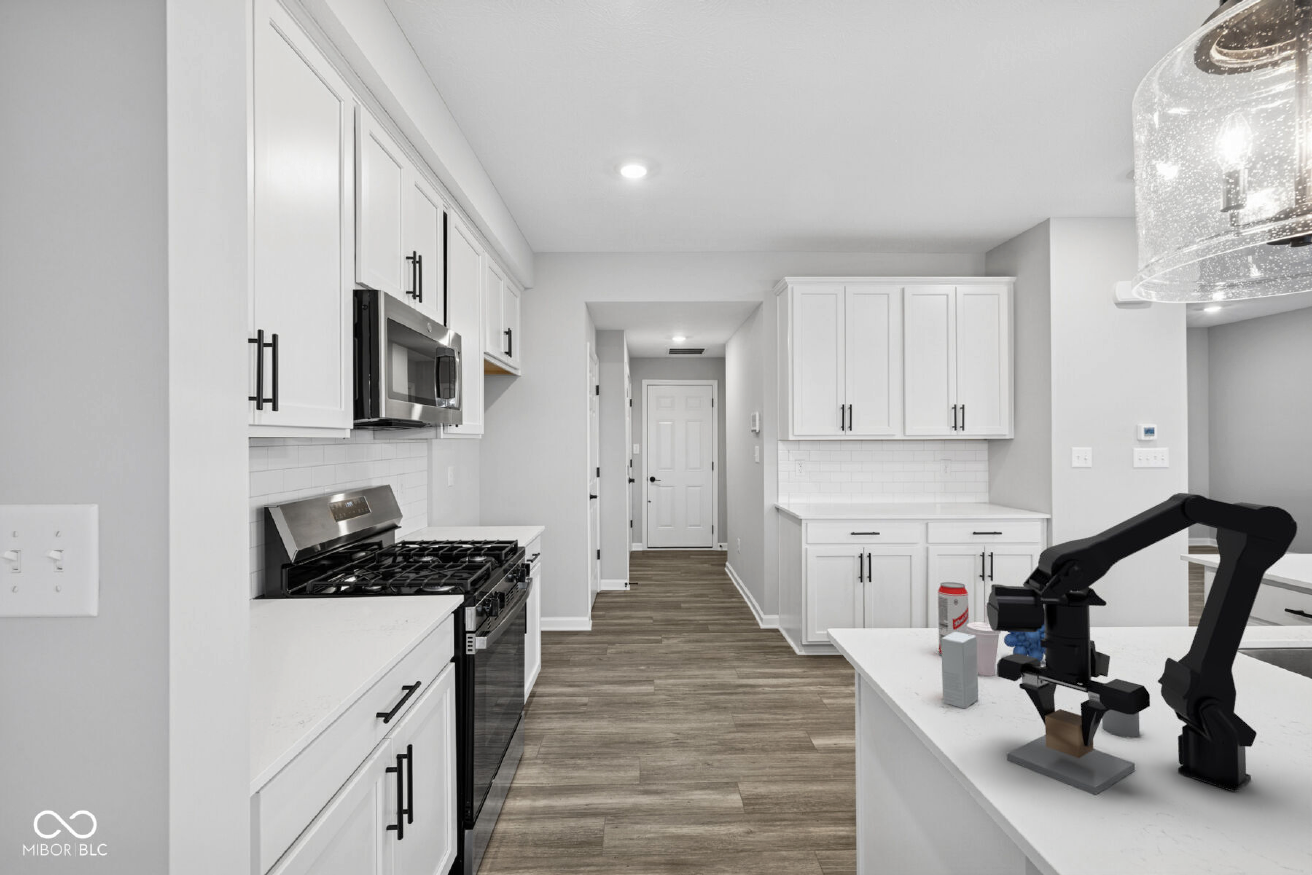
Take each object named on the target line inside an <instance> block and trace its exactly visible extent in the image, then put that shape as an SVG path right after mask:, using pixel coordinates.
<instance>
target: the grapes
mask: <svg viewBox="0 0 1312 875" xmlns="http://www.w3.org/2000/svg"><path fill="white" fill-rule="evenodd" d="M1006 632H1007V634H1006V635H1005V636H1004V637H1003V643H1004V644H1005V645H1006V646H1007V647H1009V648H1012V649H1013V650H1012V654H1015V653H1018V654H1022V655H1026V656H1030V657H1033V658H1037V659H1038V660H1039V661H1040V662H1042V661H1043V659H1044V658H1045V647H1041V646H1040V640H1041V639H1044V638H1045V623H1044V624H1043V626H1042V629H1037V631H1036V632H1011V631H1006Z"/></svg>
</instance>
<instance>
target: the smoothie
mask: <svg viewBox="0 0 1312 875" xmlns="http://www.w3.org/2000/svg"><path fill="white" fill-rule="evenodd" d="M967 630H968V632H969V634H970V635H975V636H976V638H977V670H978V676H982V675H986V676H985V677H992V676H991V675H993V676H995V673H996V666H997V656H998V655H997V654H998V647H999V637H1000V634H1001V632H1002V631H993V630H992V629H991V627H990V624H989V621H988V615H987V604H984V622H978V621H977V622H969V623H968V624H967Z"/></svg>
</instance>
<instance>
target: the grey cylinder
mask: <svg viewBox="0 0 1312 875" xmlns="http://www.w3.org/2000/svg"><path fill="white" fill-rule="evenodd" d="M1106 683H1107V682H1105V684H1106ZM1101 723H1102V727H1101V728H1102V729H1104V730H1103V731H1104V732H1106V733H1108V734H1110V735H1113V736H1118V737H1120V738H1126V737H1130V738H1129V739H1132V738H1131V737H1135V738H1138V737H1140V734H1141V733H1140V712H1138V713H1136V714H1134V715H1129V714H1124V713H1121V712H1117V711H1114V710H1109V711H1107V712H1106V713H1105V714H1104V716H1103V717H1102V719H1101Z"/></svg>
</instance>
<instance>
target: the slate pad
mask: <svg viewBox="0 0 1312 875" xmlns="http://www.w3.org/2000/svg"><path fill="white" fill-rule="evenodd" d="M1006 759H1007V761H1009V762H1012V763H1015V764H1017V765H1019V766H1022V767H1024V768H1027V769H1029V770H1031V771H1034V772H1037V773H1039V774H1043V775H1045V776H1047V777H1048V778H1049V777H1050V778H1052V779H1055V780H1057V781H1059V782H1063V783H1065V784H1067V785H1069V786H1072V787H1074V788H1076V789H1080V790H1082V791H1084V792H1087V793H1090V794H1092V795H1095V796H1096V795H1098V794H1099V793H1101V792H1103V791H1104V790H1106V789H1107V788H1109V787H1111V786H1112V785H1113V784H1116V783H1117V782H1119V781H1120V780H1122V779H1124V778H1125V777H1127V776H1128V775H1129V773H1130V774H1131V773H1132V772H1135V771H1136V763H1135V762H1132V761H1129V760H1126V759H1124V758H1122V757H1117V756H1115V755H1112V754H1109V753H1106V752H1103V751H1100V750H1098V749H1095V748H1094V750H1093V751H1091V752H1089V753H1087V754H1086V755H1084V756H1082V757H1080V758H1077V757H1074V756H1071V755H1068V754H1065V753H1063V752H1060V751H1057V750H1054V749H1051V748H1049V747H1046V734H1044V735H1041V736H1039V737H1037V738H1035V739H1033V740H1031V741H1029V742H1027V743H1025V744H1023V745H1021V746H1019V747H1017V748H1014V749H1011V751H1009V752H1006Z"/></svg>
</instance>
